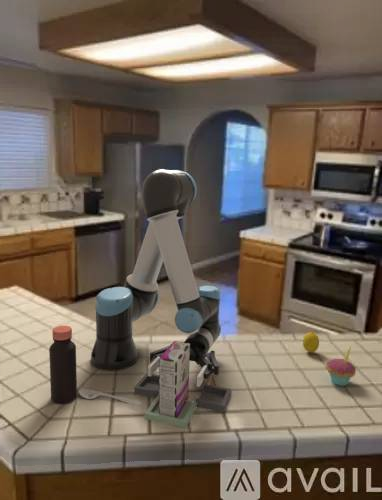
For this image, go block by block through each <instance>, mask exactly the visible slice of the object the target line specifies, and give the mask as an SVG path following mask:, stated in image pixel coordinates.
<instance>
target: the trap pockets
mask: <svg viewBox="0 0 382 500" xmlns="http://www.w3.org/2000/svg"><path fill="white" fill-rule="evenodd" d="M202 385H203V384H202ZM133 394H134V395H138V396H143V397H147V398H153V399H156V397H157V396H158V394H159V374H156V373H153V374H152V376H151V377H150V376H148V372H146V373H145V374H144V375H143V376H142V377H141V378H140V380H139V381H138V382H137V384H136V385H135V386H133ZM231 396H232V388H227V387H223V386H217V385H213V384H209V385H208V384H204V385H203V390H202V392H201V394H200V395H199V397H198V398H194V399H195V402H197V407H196V408H199V409H202V410H203V409H204V410H209V411H212V412H213V411H214V412H218V413H223V414H224V413H225V411H226V408H227V406H228V405H229V404H228V403H229V401H230V399H231Z"/></svg>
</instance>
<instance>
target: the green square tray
mask: <svg viewBox="0 0 382 500" xmlns="http://www.w3.org/2000/svg"><path fill="white" fill-rule="evenodd" d="M195 399H196V398H194V399H193V401H188V400H187V401H186V403H185V405H184V407H183V408H182V410H181V412H180V414H179V415H178V417H177V418H175V417H170V416H166V415H161V414H159V394H158V396H157V397H156V398H154V400H153V401H152V403H150V406H149V407H148V408H147V410H146V411H145V412H144V419H145V420H149V421H154V422H158V423H163V424H166V425H171V426H175V427H179V428H184V429H186V428H187V427H188V424H189V422H190V421H191V419H192V417H193V415H194V413H195V411H196V409H197V408H198V407H197V402H195Z"/></svg>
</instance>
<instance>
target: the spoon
mask: <svg viewBox="0 0 382 500" xmlns="http://www.w3.org/2000/svg"><path fill="white" fill-rule="evenodd" d="M77 393H78V394H79V396H80V397H82V398H84V399H87V400H93V399H96V398H98V397H100V396H104V397H108V398H112V399H115V400H118V401H121V402H123V403H126V404H130V405H141V403H142V402H141V401H138V400H136V399H132V398H131V399H130V398H126V397H121V396H117V395H111V394H109V393H105V392H102V391H99V390H92V389H84V388H82V389H79V390H77ZM89 395H92V396H89Z"/></svg>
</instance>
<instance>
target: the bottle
mask: <svg viewBox="0 0 382 500" xmlns="http://www.w3.org/2000/svg"><path fill="white" fill-rule="evenodd" d="M72 337H73V330H72V327H71V326H69V325H58V326H55V327H54V328H52V340H53V343H52V344H50V346H49V350H48V352H49V377H50V399H51V401H52V402H53V403H55V404H58V405H59V404H61V405H62V404H63V405H65V404H69V403H71V402H73V401H74V400H76V398H77V396H78V386H77V385H78V383H77V345H76V344H75V342H73V341H72Z"/></svg>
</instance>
